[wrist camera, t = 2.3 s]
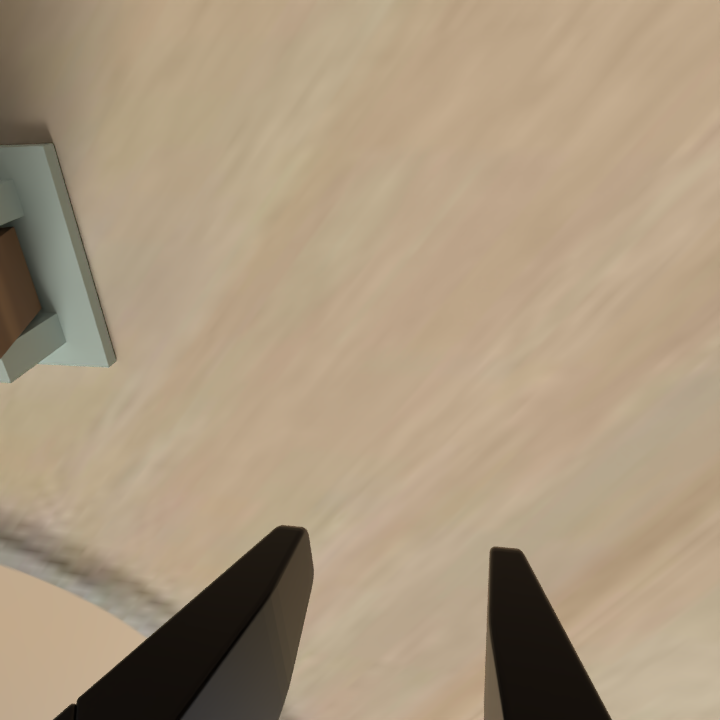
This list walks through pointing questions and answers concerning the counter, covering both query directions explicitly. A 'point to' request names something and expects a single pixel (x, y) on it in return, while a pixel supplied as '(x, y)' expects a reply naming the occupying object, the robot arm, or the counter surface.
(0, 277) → the brown wooden post
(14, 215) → the bracket
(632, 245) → the counter surface
